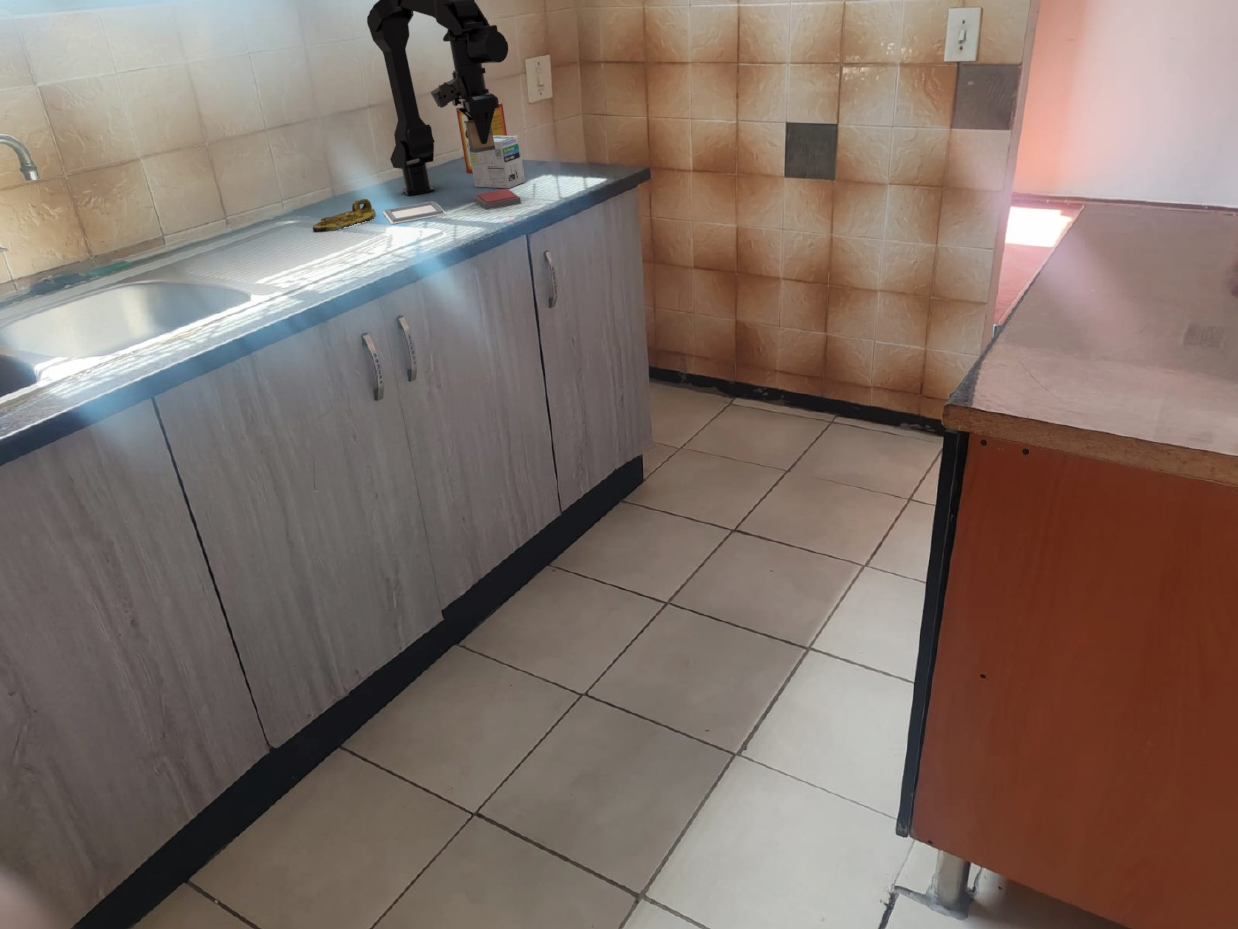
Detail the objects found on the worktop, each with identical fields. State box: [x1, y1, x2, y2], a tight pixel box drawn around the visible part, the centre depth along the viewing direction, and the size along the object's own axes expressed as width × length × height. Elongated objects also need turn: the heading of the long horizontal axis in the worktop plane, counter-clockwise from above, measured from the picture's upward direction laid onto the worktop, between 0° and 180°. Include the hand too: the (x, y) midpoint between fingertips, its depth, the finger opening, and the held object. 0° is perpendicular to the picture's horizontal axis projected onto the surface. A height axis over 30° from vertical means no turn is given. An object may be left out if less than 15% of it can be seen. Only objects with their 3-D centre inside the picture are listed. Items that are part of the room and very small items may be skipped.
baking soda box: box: [455, 102, 508, 174], centre depth 231 cm, size 10×6×16 cm
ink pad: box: [473, 188, 522, 210], centre depth 204 cm, size 10×8×2 cm
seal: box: [312, 198, 377, 233], centre depth 199 cm, size 9×5×15 cm
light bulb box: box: [467, 135, 526, 189], centre depth 217 cm, size 11×7×11 cm, turn 58°
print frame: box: [382, 200, 448, 225], centre depth 202 cm, size 12×12×1 cm
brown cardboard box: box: [465, 120, 495, 153], centre depth 198 cm, size 4×4×6 cm
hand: (481, 142), depth 199 cm, fingers closed on brown cardboard box, 4 cm apart
